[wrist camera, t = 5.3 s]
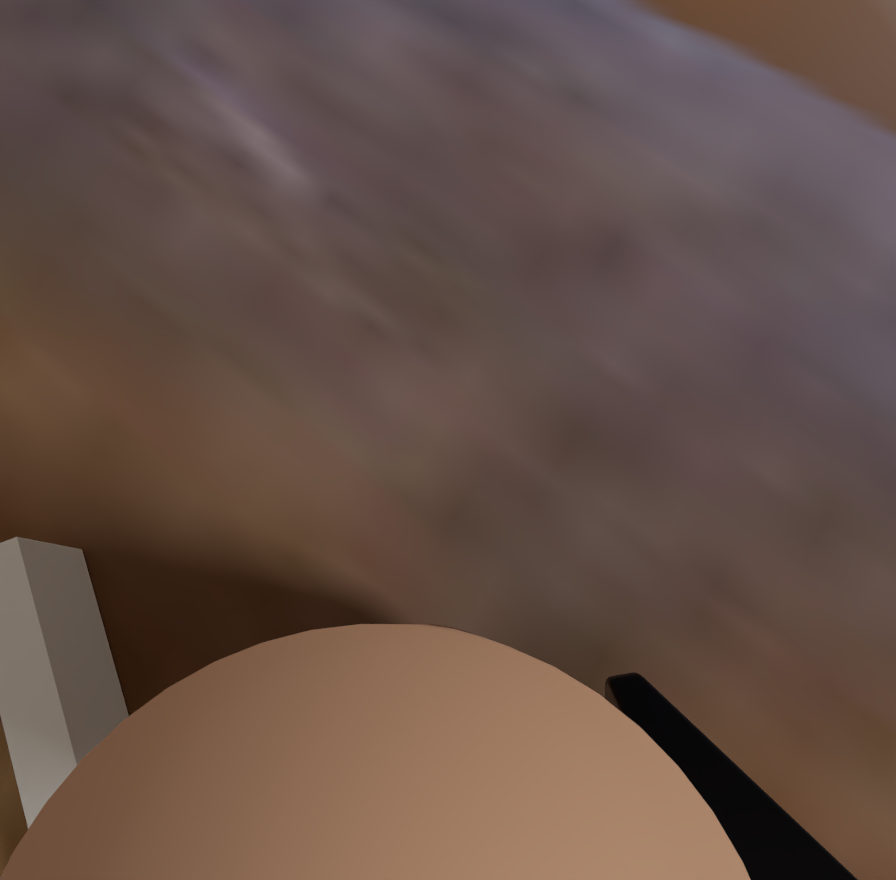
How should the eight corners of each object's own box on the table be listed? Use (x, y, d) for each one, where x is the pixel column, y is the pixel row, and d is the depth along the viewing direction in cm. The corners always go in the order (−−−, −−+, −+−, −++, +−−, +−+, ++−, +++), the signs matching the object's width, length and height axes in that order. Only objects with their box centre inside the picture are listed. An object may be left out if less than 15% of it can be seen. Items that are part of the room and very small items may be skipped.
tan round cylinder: (483, 967, 15) (581, 1893, 4) (238, 825, 15) (-250, 1300, 5) (601, 700, 16) (922, 857, 5) (368, 578, 16) (223, 494, 6)
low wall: (254, 1163, 16) (212, 1281, 13) (201, 1187, 16) (146, 1313, 13) (82, 549, 19) (16, 536, 16) (35, 566, 19) (-39, 557, 16)
